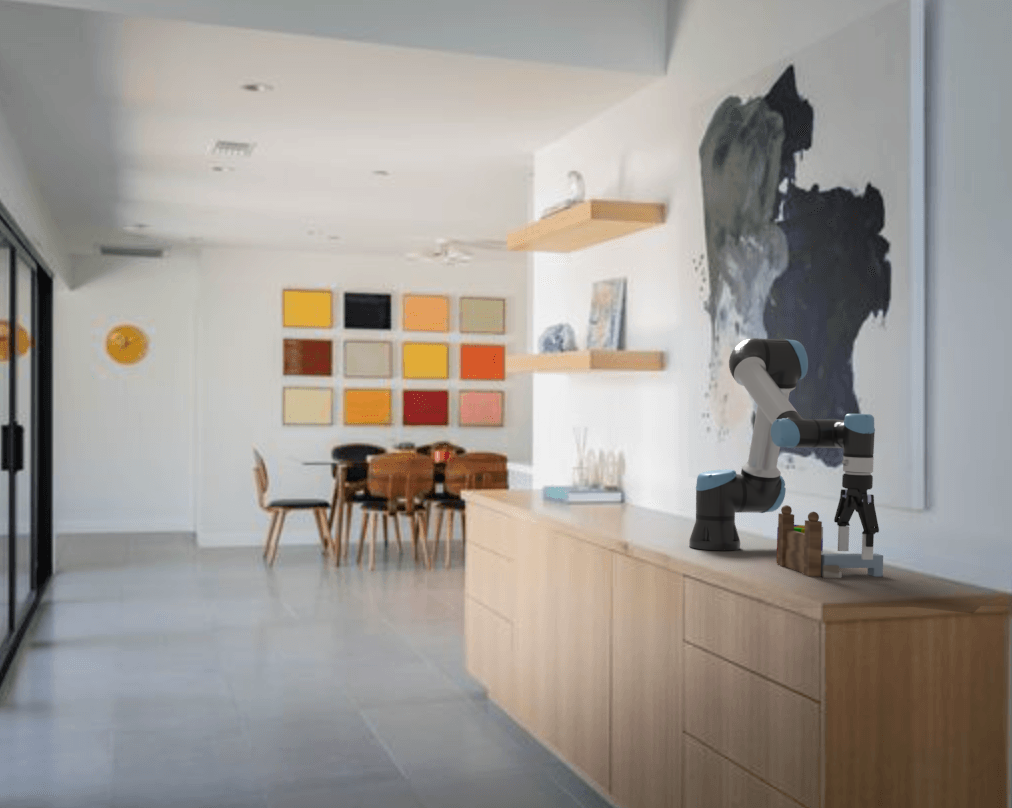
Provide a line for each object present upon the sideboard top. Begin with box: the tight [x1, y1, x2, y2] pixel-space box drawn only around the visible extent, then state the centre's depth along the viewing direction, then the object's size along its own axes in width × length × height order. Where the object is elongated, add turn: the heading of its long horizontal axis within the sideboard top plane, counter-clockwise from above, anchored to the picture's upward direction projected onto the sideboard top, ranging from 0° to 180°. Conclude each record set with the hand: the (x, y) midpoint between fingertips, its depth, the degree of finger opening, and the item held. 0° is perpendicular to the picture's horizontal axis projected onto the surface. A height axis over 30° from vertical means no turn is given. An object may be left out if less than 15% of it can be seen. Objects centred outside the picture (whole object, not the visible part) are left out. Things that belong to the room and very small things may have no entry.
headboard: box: [776, 505, 843, 579], centre depth 307 cm, size 22×8×16 cm, turn 10°
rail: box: [820, 553, 884, 577], centre depth 301 cm, size 4×16×5 cm, turn 99°
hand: (854, 555), depth 302 cm, fingers open, 13 cm apart
